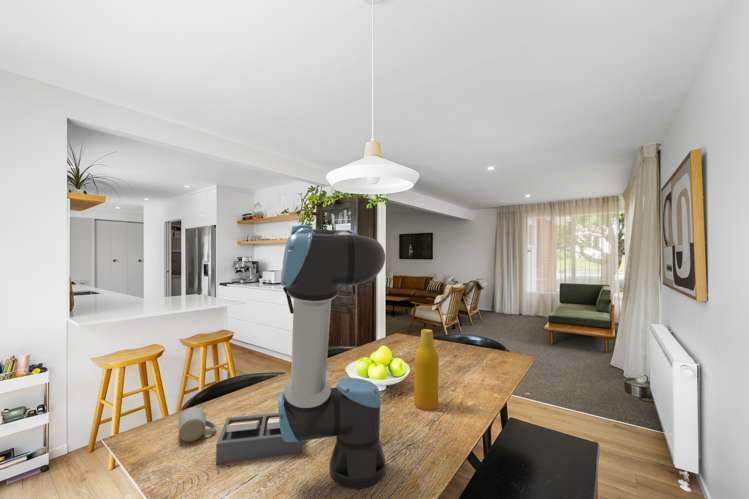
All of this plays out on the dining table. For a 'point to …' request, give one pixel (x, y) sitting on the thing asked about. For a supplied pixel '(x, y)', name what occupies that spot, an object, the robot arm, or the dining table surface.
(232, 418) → the grey divided tray
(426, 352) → the beer bottle
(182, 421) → the ceramic mug
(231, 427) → the breaker rocker
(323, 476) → the dining table surface
